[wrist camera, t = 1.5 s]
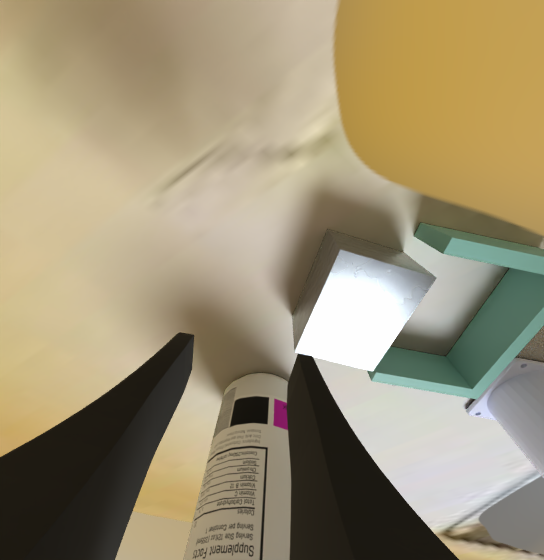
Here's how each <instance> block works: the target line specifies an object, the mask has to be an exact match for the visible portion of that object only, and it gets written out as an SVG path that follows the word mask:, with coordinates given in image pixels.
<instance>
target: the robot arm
mask: <svg viewBox="0 0 544 560" xmlns="http://www.w3.org/2000/svg"><path fill="white" fill-rule="evenodd" d="M193 344H194V335H191V334H186V333H178V334H177V335H176V336H174V337H173V338H172V339H171V340H170V341H169V342H168V343H167V344H166V345H165V346H164V347H163V348H162V349H160V350H159V351H158V352H157V353H156V354H155V355H154V356H152V357H151V358H150V359H149V360H148V361H147V362H145V363H144V364H143V365H142V366H141V367H139V368H138V369H137V370H136V371H134V372H133V373H132V374H131V375H129V376H128V377H127V378H125V379H124V380H123V381H122V382H120V383H119V384H118V385H116V386H115V387H114V388H112V389H111V390H110V391H108V392H107V393H105V394H104V395H103V396H101V397H100V398H98V399H97V400H95V401H94V402H92V403H91V404H89V405H88V406H86V407H85V408H83V409H82V410H80V411H79V412H77V413H76V414H74V415H72V416H71V417H69V418H68V419H66V420H64V421H63V422H61V423H60V424H58V425H56V426H55V427H53V428H51V429H50V430H48V431H46V432H45V433H43V434H41V435H39V436H38V437H36V438H34V439H32V440H30V441H29V442H27V443H25V444H23V445H21V446H20V447H18V448H16V449H14V450H12V451H11V452H9V453H7V454H5V455H3V456H2V457H0V560H115V558H116V555H117V552H118V549H119V547H120V543H121V540H122V538H123V535H124V532H125V530H126V527H127V524H128V522H129V519H130V516H131V514H132V511H133V508H134V506H135V503H136V500H137V497H138V495H139V492H140V490H141V487H142V484H143V482H144V479H145V477H146V474H147V471H148V469H149V466H150V464H151V461H152V459H153V456H154V454H155V452H156V450H157V447H158V445H159V443H160V441H161V439H162V437H163V435H164V433H165V431H166V429H167V426H168V424H169V422H170V420H171V418H172V416H173V414H174V412H175V410H176V408H177V406H178V403H179V401H180V399H181V397H182V395H183V393H184V390H185V387H186V385H187V382H188V379H189V376H190V373H191V370H192V360H193ZM466 412H467V413H468V415H470V416H475V417H481V418H487V419H493V420H497V421H498V423H499V424H500V425H501V426H502V428H503V429H504V430H505V431H506V432H507V434H508V435H509V436H510V437H511V439H512V440H513V441H514V442H515V443H516V445H517V446H518V447H519V448H520V450H521V451H522V452H523V453H524V455H525V456H526V457H527V458H528V459H529V461H530V462H531V463H532V464H533V466H534V467H535V468H536V469H537V470H538V472H539V473H540V474H541V475H542V477H543V478H544V363H543V362H538V361H532V360H527V359H522V358H514V359H513V360H512V361H511V362H510V363H509V365H508V366H507V367H506V368H505V369H504V370H503V371H502V372H501V373H500V375H499V376H498V377H497V378H496V379H495V380H494V381H493V382H492V383H491V384H490V386H489V387H488V388H487V389H486V390H485V391H484V392H483V393H482V394H481V396H480V397H479V398H478V399H475V400H474V402H473V403H472V404H471V405H470V406H469V407H468V408H467V410H466ZM287 424H288V438H289V453H290V467H291V522H290V560H459V559H458V558H457V557H456V556H455V555H454V554H453V553H452V552H451V551H450V550H449V549H448V548H447V546H446V545H445V544H444V543H443V542H442V541H441V540H440V539H439V538H438V537H437V536H436V535H435V534H434V533H433V532H432V531H431V529H430V528H429V527H428V526H427V525H426V524H425V523H424V522H423V520H422V519H421V518H420V517H419V516H418V515H417V514H416V512H415V511H414V510H413V509H412V508H411V507H410V506H409V504H408V503H407V502H406V501H405V500H404V498H403V497H402V496H401V495H400V493H399V492H398V491H397V490H396V488H395V487H394V486H393V485H392V483H391V482H390V481H389V480H388V479H387V477H386V476H385V475H384V474H383V472H382V471H381V470H380V468H379V467H378V466H377V464H376V463H375V462H374V460H373V459H372V458H371V456H370V455H369V454H368V452H367V451H366V449H365V448H364V446H363V445H362V444H361V442H360V441H359V439H358V438H357V436H356V435H355V433H354V432H353V430H352V428H351V427H350V425H349V424H348V422H347V420H346V419H345V417H344V416H343V414H342V412H341V410H340V409H339V407H338V405H337V404H336V402H335V400H334V398H333V396H332V394H331V393H330V391H329V389H328V387H327V385H326V383H325V381H324V379H323V377H322V375H321V373H320V371H319V369H318V367H317V365H316V363H315V361H314V358H313V357H312V356H310V355H305V354H299V353H298V355H297V358H296V361H295V364H294V367H293V370H292V373H291V376H290V379H289V382H288V386H287Z"/></svg>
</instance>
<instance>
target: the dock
mask: <svg viewBox="0 0 544 560" xmlns="http://www.w3.org/2000/svg"><path fill="white" fill-rule="evenodd" d="M414 237H416V238H418V239H419V240H421V241H423V242H424V243H426V244H428V245H429V246H431V247H433V248H434V249H436V250H438V251H439V252H441V253H443V254H447V255H451V256H456V257H461V258H466V259H471V260H476V261H480V262H485V263H490V264H495V265H500V266H504V267H509V270H508V271H507V273H506V274H505V275H504V277H503V278H502V280H501V281H500V282H499V284H498V285H497V286H496V288H495V289H494V291H493V292H492V293H491V295H490V296H489V298H488V299H487V300H486V302H485V303H484V304H483V306H482V307H481V309H480V310H479V311H478V313H477V314H476V316H475V317H474V318H473V320H472V321H471V322H470V324H469V325H468V327H467V328H466V329H465V331H464V332H463V334H462V335H461V336H460V338H459V339H458V340H457V342H456V343H455V345H454V346H453V347H452V349H451V350H450V352H449V353H448V354H447V356H446V357H445V356H440V355H434V354H429V353H423V352H418V351H412V350H407V349H401V348H396V347H389V348H388V350H387V351H386V353H385V354H384V356H383V357H382V359H381V360H380V362H379V363H378V365H377V366H376V367H375V369H374V370H373V371H369V370H367V371H368V374H369V376H370V379H371V381H374V382H379V383H385V384H391V385H397V386H403V387H408V388H414V389H420V390H426V391H432V392H437V393H443V394H449V395H455V396H460V397H466V398H472V399H478V398H479V397H480V396H481V394H482V393H483V392H484V391H485V390H486V389H487V388H488V387H489V386H490V384H491V383H492V382H493V381H494V380H495V379H496V378H497V377H498V376H499V375H500V373H501V372H502V371H503V370H504V369H505V368H506V367H507V366H508V365H509V363H510V362H511V361H512V360H513V359H514V358H515V357H516V356H517V355H518V353H519V352H520V351H521V350H522V349H523V348H524V347H525V346H526V345H527V344H528V342H529V341H530V340H531V339H532V338H533V337H534V336H535V335H536V334H537V332H538V331H539V330H540V329H541V328H542V327H543V326H544V250H543V249H541V248H537V247H532V246H528V245H523V244H518V243H514V242H509V241H504V240H500V239H495V238H490V237H486V236H481V235H476V234H472V233H467V232H462V231H458V230H453V229H448V228H444V227H439V226H434V225H430V224H425V223H420V225H419V227H418V229H417V231H416V233H415V235H414Z"/></svg>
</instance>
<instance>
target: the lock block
mask: <svg viewBox="0 0 544 560" xmlns="http://www.w3.org/2000/svg"><path fill="white" fill-rule="evenodd" d="M435 280H436V277H435V276H434V275H432V274H431V273H430V272H428V271H427V270H426V269H425V268H423V267H422V266H421V265H419V264H418V263H417V262H416V261H414V260H413V259H412V258H410V257H409V256H408V255H407V254H405V253H404V252H402V251H398V250H395V249H392V248H388V247H385V246H382V245H379V244H375V243H372V242H369V241H365V240H362V239H359V238H355V237H352V236H349V235H345V234H342V233H339V232H336V231H332V230H329V229H327V232H326V234H325V236H324V239H323V241H322V244H321V246H320V249H319V251H318V254H317V256H316V259H315V261H314V264H313V266H312V269H311V271H310V274H309V276H308V279H307V281H306V284H305V286H304V289H303V291H302V293H301V296H300V298H299V301H298V303H297V306H296V308H295V311H294V313H293V316H292V319H293V335H294V350H295V352H296V353H300V354H305V355H310V356H312V357H316V358H320V359H324V360H328V361H332V362H336V363H340V364H344V365H348V366H352V367H356V368H360V369H365V370H369V371H373V370H374V369H375V367H376V366H377V365H378V363H379V362H380V360H381V359H382V357H383V356H384V354H385V353H386V351H387V350H388V348H389V347H390V345H391V344H392V343H393V341H394V340H395V338H396V337H397V335H398V334H399V332H400V331H401V329H402V328H403V326H404V325H405V324H406V322H407V321H408V319H409V318H410V316H411V315H412V313H413V312H414V310H415V309H416V307H417V306H418V305H419V303H420V302H421V300H422V299H423V297H424V296H425V294H426V293H427V291H428V290H429V288H430V287H431V285H432V284H433V283H434V281H435Z"/></svg>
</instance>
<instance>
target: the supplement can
mask: <svg viewBox="0 0 544 560" xmlns="http://www.w3.org/2000/svg"><path fill="white" fill-rule="evenodd" d="M287 386H288V381H286V380H285V379H283V378H281V377H279V376H276V375H273V374H267V373H255V374H248V375H246V376H244V377H242V378H239V379H237V380H235V381H233V382H232V383H231V384H230V385H229V386H228V387H227V388H226V389H225V392H224V396H223V400H222V404H221V408H220V412H219V416H218V420H217V424H216V428H215V432H214V436H213V440H212V444H211V449H210V453H209V457H208V461H207V465H206V469H205V473H204V477H203V481H202V485H201V489H200V493H199V498H198V502H197V506H196V510H195V514H194V518H193V522H192V526H191V530H190V534H189V539H188V543H187V547H186V551H185V555H184V559H183V560H290V522H291V467H290V453H289V438H288V424H287Z"/></svg>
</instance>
